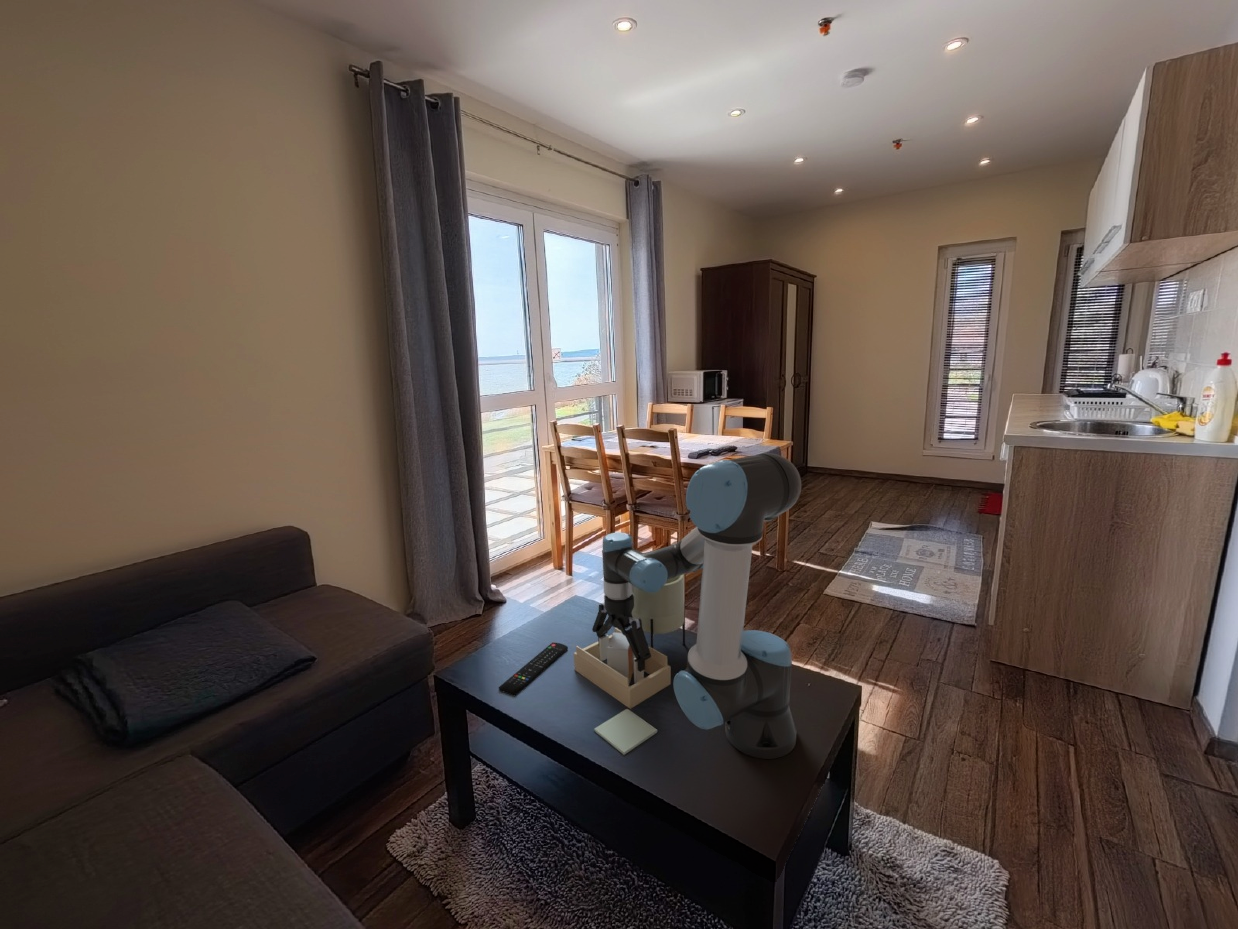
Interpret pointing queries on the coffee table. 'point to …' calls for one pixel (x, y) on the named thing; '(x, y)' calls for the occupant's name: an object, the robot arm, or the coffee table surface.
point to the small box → (620, 655)
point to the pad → (625, 731)
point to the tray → (617, 683)
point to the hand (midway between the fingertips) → (621, 669)
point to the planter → (661, 608)
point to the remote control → (533, 668)
